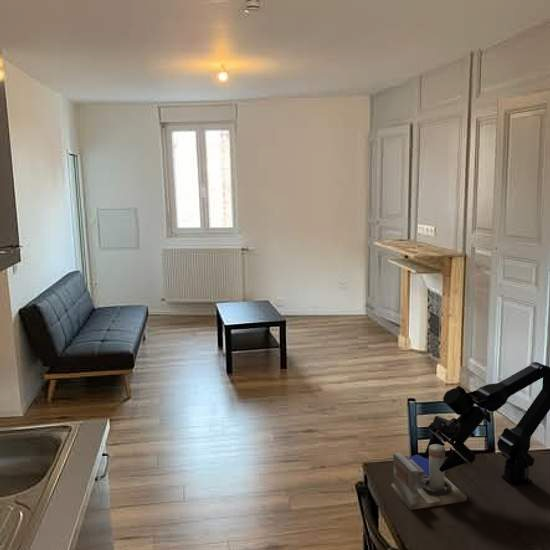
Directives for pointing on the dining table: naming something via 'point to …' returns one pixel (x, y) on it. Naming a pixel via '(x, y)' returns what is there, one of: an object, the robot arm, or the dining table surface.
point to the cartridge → (436, 467)
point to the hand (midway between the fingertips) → (432, 463)
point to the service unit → (420, 486)
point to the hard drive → (421, 463)
